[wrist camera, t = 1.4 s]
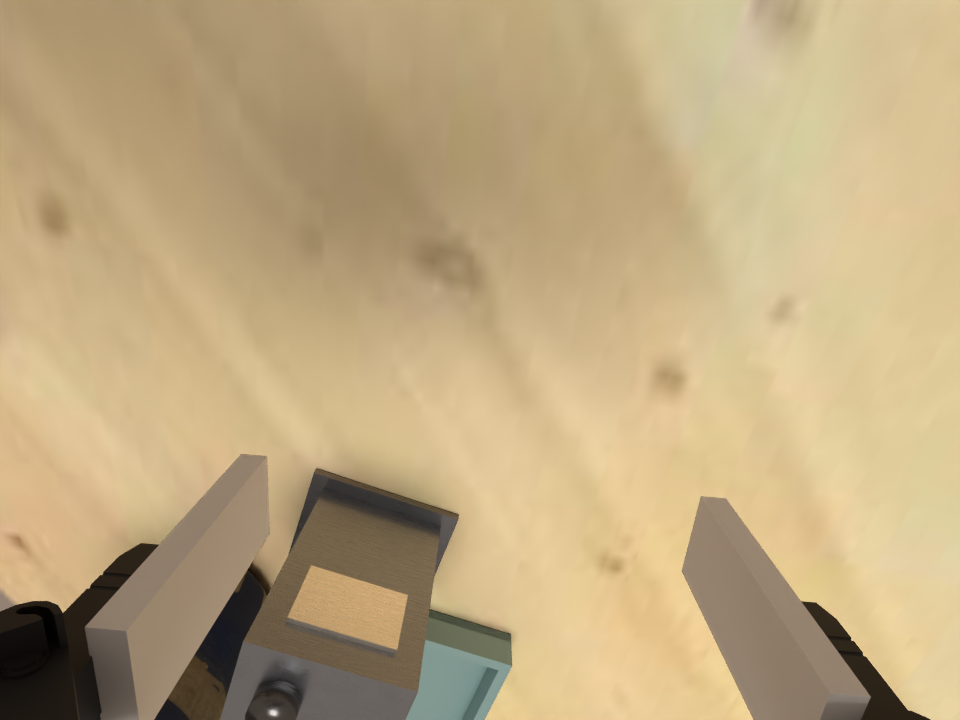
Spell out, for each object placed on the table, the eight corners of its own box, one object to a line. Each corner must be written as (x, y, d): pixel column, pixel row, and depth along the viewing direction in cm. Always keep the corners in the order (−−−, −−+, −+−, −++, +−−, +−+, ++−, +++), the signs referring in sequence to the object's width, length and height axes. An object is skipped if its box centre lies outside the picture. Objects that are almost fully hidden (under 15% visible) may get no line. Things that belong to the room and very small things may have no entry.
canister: (151, 539, 42) (-80, 789, 25) (274, 549, 42) (128, 804, 25) (164, 636, 45) (-34, 917, 28) (278, 645, 45) (151, 930, 28)
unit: (290, 553, 42) (183, 755, 28) (316, 468, 40) (215, 640, 25) (424, 595, 43) (391, 811, 29) (458, 514, 41) (441, 705, 26)
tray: (290, 716, 48) (277, 751, 45) (338, 581, 43) (327, 610, 40) (447, 760, 49) (444, 796, 46) (510, 634, 44) (512, 665, 42)
